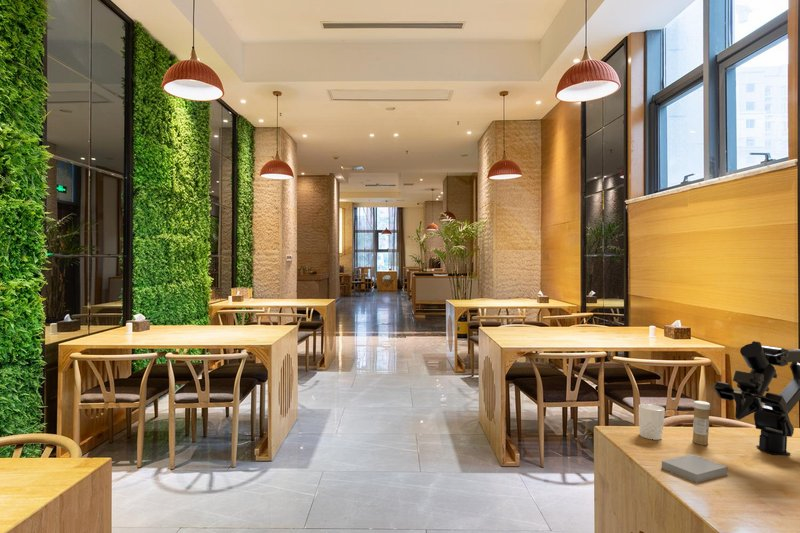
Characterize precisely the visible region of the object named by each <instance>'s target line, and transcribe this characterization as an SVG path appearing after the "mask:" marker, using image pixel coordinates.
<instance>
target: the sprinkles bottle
mask: <svg viewBox="0 0 800 533" xmlns="http://www.w3.org/2000/svg"><path fill="white" fill-rule="evenodd" d="M693 408H694V409H693V422H692V424H693V425H692V440H691V441H692V442H693V443H695V444H697V445H702V446H703V445H704V446H706V445H708V444H709V434H710V433H709V430H710V429H709V428H710V409H711V403H709V402H708V401H704V400H694V401H693Z"/></svg>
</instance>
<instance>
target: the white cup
mask: <svg viewBox="0 0 800 533" xmlns="http://www.w3.org/2000/svg"><path fill="white" fill-rule="evenodd" d="M665 412H666V408H665V407H663V406H661V405H655V404H650V403H641V404H638V428H639V430H638V432H639V436H640V437H641V438H645V439H646V440H647V439H648V440H652V439H653V440H654V441H658V440H661V439H663V430H664V424H665Z"/></svg>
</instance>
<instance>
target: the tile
mask: <svg viewBox="0 0 800 533" xmlns="http://www.w3.org/2000/svg"><path fill="white" fill-rule="evenodd" d="M662 468H663V469H662ZM661 469H662V470H664V469H665V471H667V472H669V471H670V472H669V473H672V472H673V473H672V474H674V473H675V474H674V475H677V476H679V477H681V476H682V478H683V479H686V480H688V481H691V482H694V483H696V484H697V483H701V482H704V481H709V480H712V479H716V478H720V477H722V476H728V466H726V465H724V464H721V463H718V462H715V461H713V460H710V459H707V458H705V457H701V456H699V455H695V454H693V453H690V454H686V455H682V456H677V457H674V458H669V459H664V460H661Z"/></svg>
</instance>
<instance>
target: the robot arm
mask: <svg viewBox="0 0 800 533" xmlns="http://www.w3.org/2000/svg"><path fill="white" fill-rule="evenodd" d="M739 351H740V352H739V353H740V355H741V356H742V358H743V361H745V364H746V365H747V367H749V368H750V370H749V372H745V371H741V370H735V371H734V375H733V378H732V381H733V382H734V383H736V386H737V388H735V387H734V388H733V386H732V385H731V383H727V382H723V381H716V382H715V383H714V384H713V387H712V388H713V390H714V391H715V392H716V395H717V396H718V397H719V399H721V400H726V401H729V402H730V401H735V416H734V417H735V419H736V420H741V419H744V418H746V417H747V416H749V415H751V414H753V419H754V420H753V421H754V425H755V429H758V430H760V434H759V439H758V440H759V442H758V443H759V444H758V445H756V447H755V448H757V449H760V450H762V451H763V452H765V453H768V454H769V455H782V456H783V455H786V456H787V455H789V456H790V455H791V454H792V453H791V452H789V451H788V450H787V446H788V437H789V438H790V437H791V438H792V437H793V435H794V430H795V429H794V426H793V424H792V422H791V419H790V416H789V414H790V412H791V411H792V410H793V408H795V406H796V405H797V403H799V401H800V348H792V349H790V348H789V349H788V348H784V347H776V346H771V345H769V346H768V345H762V343H761V342H760V341H757V340H756V341H755V340H753V341H752V342H751V343H747V344H745V345H743V346H742V347H741V348H740V350H739ZM789 363H790V365H789V368H790V371H791V374H792V378H791V380H790V381H789V382H788V384H787V385H786V386H785V388H783V390H782V391H781V392H780V393H779V394H778V393H772V392H769V391H770V387H769V386H770V384H771V382H772V380H773V379H777V378H778V374H777V370H776V368H775V366H777V367H781V368H782V367H785V366H788V364H789Z"/></svg>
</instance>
